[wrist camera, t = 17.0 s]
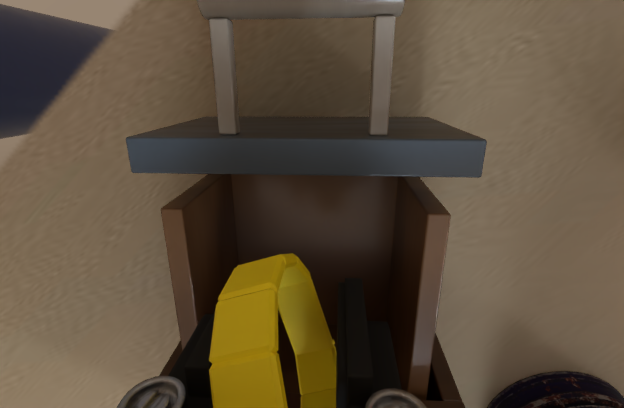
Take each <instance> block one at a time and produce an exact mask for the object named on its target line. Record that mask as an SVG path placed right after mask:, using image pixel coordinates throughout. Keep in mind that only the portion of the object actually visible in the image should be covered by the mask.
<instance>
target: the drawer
mask: <svg viewBox="0 0 624 408" xmlns="http://www.w3.org/2000/svg"><path fill="white" fill-rule="evenodd" d="M197 3H198V7H199V9H200V12H201V14H202V16H203V17H204V18H205V19H207V20H209V26H210V37H211V48H212V60H213V71H214V82H215V93H216V104H217V115H218V117H202V118H198V119H194V120H191V121H187V122H183V123H179V124H175V125H172V126H168V127H164V128H160V129H156V130H153V131H149V132H145V133H141V134H137V135H134V136H130V137H127V138H126V143H127V148H128V154H129V160H130V165H131V171H132V172H133V173H178V174H208V175H207V176H206V177H204V178H203V179H201V180H200V181H199V182H197V183H196V184H194V185H193V186H192V187H190V188H189V189H188V190H186V191H185V192H183V193H182V194H181V195H179V196H178V197H176V198H175V199H174V200H172V201H171V202H169V203H168V204H167V205H165V206H164V207H162V208H161V214H162V221H163V227H164V234H165V240H166V247H167V253H168V260H169V266H170V273H171V279H172V286H173V292H174V299H175V305H176V312H177V318H178V325H179V331H180V338H181V344H182V351H183V349H184V348H185V346H186V344H187V342H188V341H189V339H190V337H191V336H192V334H193V332H194V330H195V329H196V327H197V325H198V324H199V322H200V320H201V318H202V317H203V316H204V315H205V314H213V313H214V311H215V309H216V304H217V302H219V301H218V297H219V295H220V294H221V292H222V290H223V288H224V286H225V284H226V283H227V281H228V279H229V277H230V275H231V274H232V272H233V270H234V268H236V267H237V266H238V265H242V264H245V263H249V262H253V261H257V260H260V259H264V258H268V257H272V256H276V255H279V254H290V253H293V254H294V255H296V256H297V257H298V258H299V259H300V260H301V262H302V263H303V264H304V265H305V267H306V268H307V269H308V271H309V272H310V276H311V278H312V281H313V284H314V287H315V290H316V293H317V296H318V299H319V302H320V305H321V308H322V311H323V314H324V317H325V320H326V322H327V325H328V328H329V331H330V334H331V337H332V340H333V339H334V341H335V344H334V346H335V348H336V353H337V311H338V282H345V278H362V283H363V291H364V300H365V308H366V317H367V321H385V322H388V324H389V328H390V333H391V338H392V343H393V348H394V353H395V358H396V362H397V367H398V372H399V377H400V382H401V387H402V390H404V391H407V392H409V393H411V394H413V395H415V396H416V397H417V398H418V399H419V400H426V397H427V389H428V382H429V374H430V367H431V359H432V352H433V344H434V337H435V329H436V322H437V314H438V307H439V299H440V292H441V285H442V277H443V270H444V262H445V255H446V247H447V240H448V232H449V225H450V217H451V215H450V213H449V212H448V211H447V210H446V209H445V207H444V206H443V205H442V204H441V203H440V202H439V200H438V199H437V198H436V197H435V196H434V194H433V193H432V192H431V191H430V190H429V189H428V187H427V186H426V185H425V184H424V183H423V182H422V180H421V179H420V178H419V177H481V174H482V168H483V162H484V155H485V149H486V143H487V141H486V140H485V139H483V138H480V137H478V136H475V135H473V134H470V133H467V132H465V131H462V130H460V129H457V128H455V127H452V126H450V125H447V124H444V123H442V122H439V121H437V120H434V119H432V118H429V117H389V109H390V94H391V79H392V63H393V48H394V33H395V17H399V16H401V14H402V12H403V9H404V4H405V0H197ZM364 17H375V18H374V21H373V39H372V60H371V81H370V103H369V117H239V108H238V93H237V79H236V65H235V50H234V36H233V23H232V21H230V20H242V19H303V18H364ZM277 353H278V354H279V359H280V364H281V370H282V376H283V382H284V388H285V393H300V388H299V381H298V374H297V366H296V359H295V353H294V350H293V347H292V345H291V342H290V339H289V337H288V334H287V331H286V329H285V326H284V323H283V321H282V318H281V315H280V313H279V310H278V351H277Z"/></svg>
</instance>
